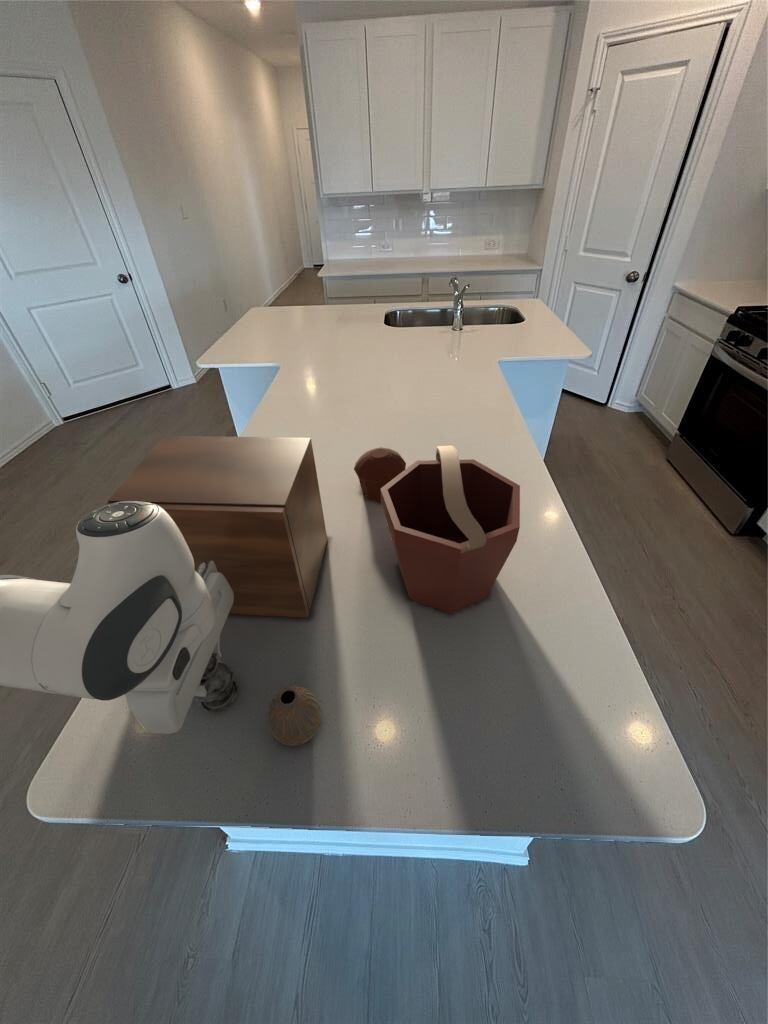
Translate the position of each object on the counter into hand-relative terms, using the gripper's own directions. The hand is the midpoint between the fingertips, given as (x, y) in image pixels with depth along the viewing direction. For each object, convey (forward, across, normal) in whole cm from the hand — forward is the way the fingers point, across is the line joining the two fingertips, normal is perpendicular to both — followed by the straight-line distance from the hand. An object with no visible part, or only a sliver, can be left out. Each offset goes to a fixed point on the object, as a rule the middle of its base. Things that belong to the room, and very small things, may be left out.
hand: (208, 676), depth 61 cm
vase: (+6, +4, +12) cm, 14 cm away
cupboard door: (+6, -13, -3) cm, 14 cm away
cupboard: (+6, -25, -3) cm, 26 cm away
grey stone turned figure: (+5, 0, 0) cm, 5 cm away
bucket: (+6, -25, +33) cm, 42 cm away
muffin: (+6, -51, +20) cm, 55 cm away
